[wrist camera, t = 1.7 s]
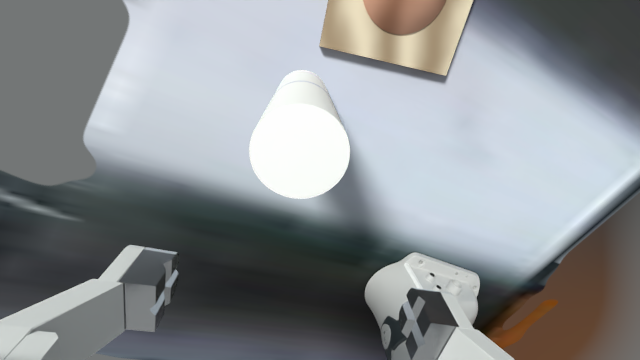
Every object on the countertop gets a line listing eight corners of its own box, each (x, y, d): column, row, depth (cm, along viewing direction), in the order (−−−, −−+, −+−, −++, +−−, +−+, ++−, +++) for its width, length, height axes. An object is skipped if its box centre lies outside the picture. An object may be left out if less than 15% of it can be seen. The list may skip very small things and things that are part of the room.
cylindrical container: (318, 63, 43) (334, 89, 20) (332, 112, 46) (360, 183, 23) (270, 79, 43) (232, 122, 21) (287, 126, 46) (270, 209, 24)
